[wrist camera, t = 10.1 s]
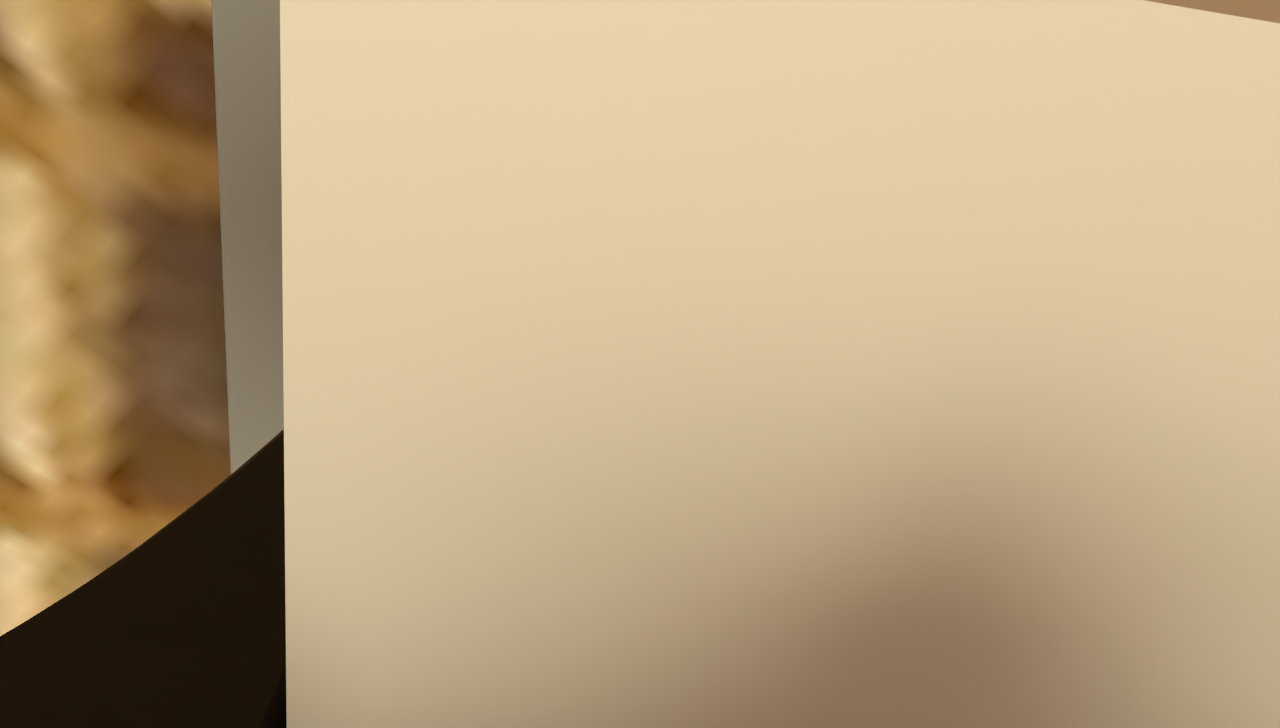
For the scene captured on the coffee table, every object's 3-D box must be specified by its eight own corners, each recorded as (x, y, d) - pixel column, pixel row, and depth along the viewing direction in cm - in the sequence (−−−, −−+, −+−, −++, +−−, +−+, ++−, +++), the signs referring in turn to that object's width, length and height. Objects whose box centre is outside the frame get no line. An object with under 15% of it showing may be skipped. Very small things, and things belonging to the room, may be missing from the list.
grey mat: (899, 587, 19) (907, 606, 19) (242, 532, 18) (234, 551, 17) (1185, -183, 13) (1207, -182, 13) (209, -376, 11) (196, -382, 11)
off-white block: (785, 691, 14) (954, 1387, 8) (416, 667, 13) (292, 1405, 7) (1036, -90, 9) (1960, 139, 3) (482, -190, 9) (277, -149, 2)
